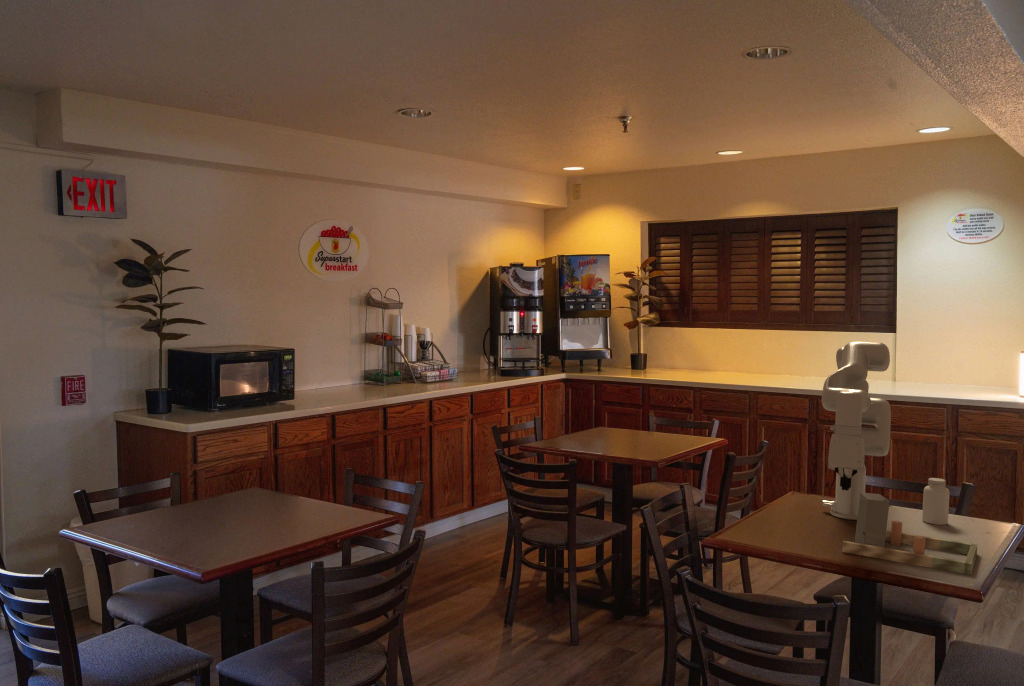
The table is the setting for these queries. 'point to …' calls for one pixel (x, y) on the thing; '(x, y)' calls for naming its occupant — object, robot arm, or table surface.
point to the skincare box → (872, 520)
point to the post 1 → (896, 533)
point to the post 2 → (919, 545)
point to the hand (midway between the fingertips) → (845, 489)
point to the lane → (920, 558)
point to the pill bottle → (936, 502)
